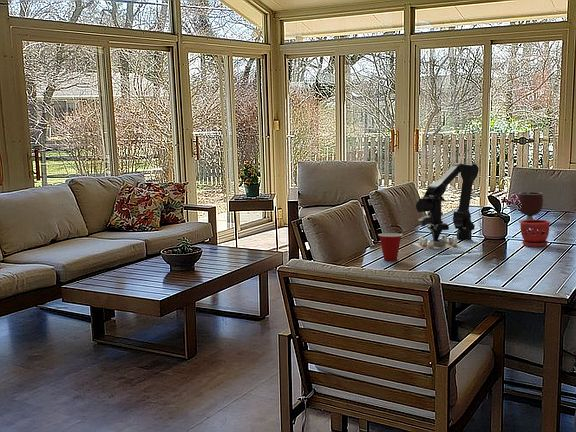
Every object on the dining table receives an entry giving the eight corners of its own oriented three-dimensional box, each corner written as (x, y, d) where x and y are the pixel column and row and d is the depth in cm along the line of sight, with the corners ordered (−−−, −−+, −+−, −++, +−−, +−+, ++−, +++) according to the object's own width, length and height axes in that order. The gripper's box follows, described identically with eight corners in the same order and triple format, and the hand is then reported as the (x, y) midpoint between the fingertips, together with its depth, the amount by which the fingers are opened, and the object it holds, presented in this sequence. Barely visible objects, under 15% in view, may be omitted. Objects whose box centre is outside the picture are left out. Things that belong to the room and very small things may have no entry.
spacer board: (449, 243, 323) (449, 240, 322) (463, 248, 308) (463, 246, 308) (412, 245, 319) (412, 243, 319) (424, 251, 304) (424, 249, 304)
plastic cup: (404, 257, 293) (404, 231, 291) (400, 262, 283) (400, 236, 281) (380, 256, 296) (380, 231, 295) (376, 261, 286) (375, 235, 285)
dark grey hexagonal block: (442, 243, 315) (442, 238, 315) (448, 246, 310) (448, 240, 309) (429, 244, 314) (429, 239, 313) (435, 247, 308) (435, 241, 308)
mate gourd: (521, 219, 387) (521, 186, 384) (545, 221, 379) (545, 187, 376) (513, 223, 374) (513, 189, 371) (537, 224, 366) (538, 190, 363)
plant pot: (549, 243, 314) (550, 219, 312) (548, 248, 302) (548, 223, 300) (521, 242, 319) (521, 218, 318) (518, 247, 308) (519, 222, 306)
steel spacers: (447, 241, 321) (447, 234, 320) (460, 246, 308) (460, 239, 307) (416, 243, 318) (416, 236, 317) (427, 248, 305) (427, 241, 304)
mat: (461, 248, 308) (461, 248, 308) (471, 252, 298) (471, 252, 298) (426, 251, 304) (426, 250, 304) (435, 255, 295) (435, 254, 295)
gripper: (412, 208, 321) (412, 239, 323) (427, 214, 303) (427, 246, 305) (433, 207, 323) (433, 238, 325) (449, 212, 305) (449, 244, 307)
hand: (435, 241), depth 315 cm, fingers closed
